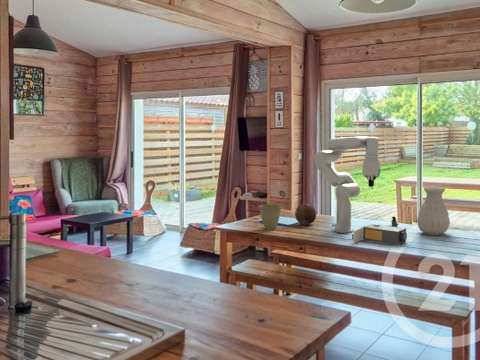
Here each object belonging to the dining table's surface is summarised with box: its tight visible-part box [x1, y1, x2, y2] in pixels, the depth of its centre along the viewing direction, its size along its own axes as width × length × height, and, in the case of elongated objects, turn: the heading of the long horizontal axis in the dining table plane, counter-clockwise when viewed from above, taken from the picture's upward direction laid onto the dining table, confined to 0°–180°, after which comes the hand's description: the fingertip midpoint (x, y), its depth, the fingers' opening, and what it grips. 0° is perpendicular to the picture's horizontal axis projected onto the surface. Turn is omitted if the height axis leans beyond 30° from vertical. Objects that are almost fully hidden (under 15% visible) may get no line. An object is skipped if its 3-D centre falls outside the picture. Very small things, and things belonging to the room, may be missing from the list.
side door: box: [351, 226, 364, 244], centre depth 294 cm, size 14×2×7 cm, turn 147°
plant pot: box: [259, 204, 282, 231], centre depth 332 cm, size 15×15×16 cm
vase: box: [416, 186, 451, 236], centre depth 315 cm, size 20×20×30 cm
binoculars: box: [390, 216, 399, 227], centre depth 318 cm, size 9×11×10 cm
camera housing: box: [362, 223, 408, 246], centre depth 296 cm, size 24×12×9 cm, turn 47°
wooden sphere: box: [294, 203, 317, 226], centre depth 347 cm, size 15×15×15 cm
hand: (371, 186), depth 303 cm, fingers closed
